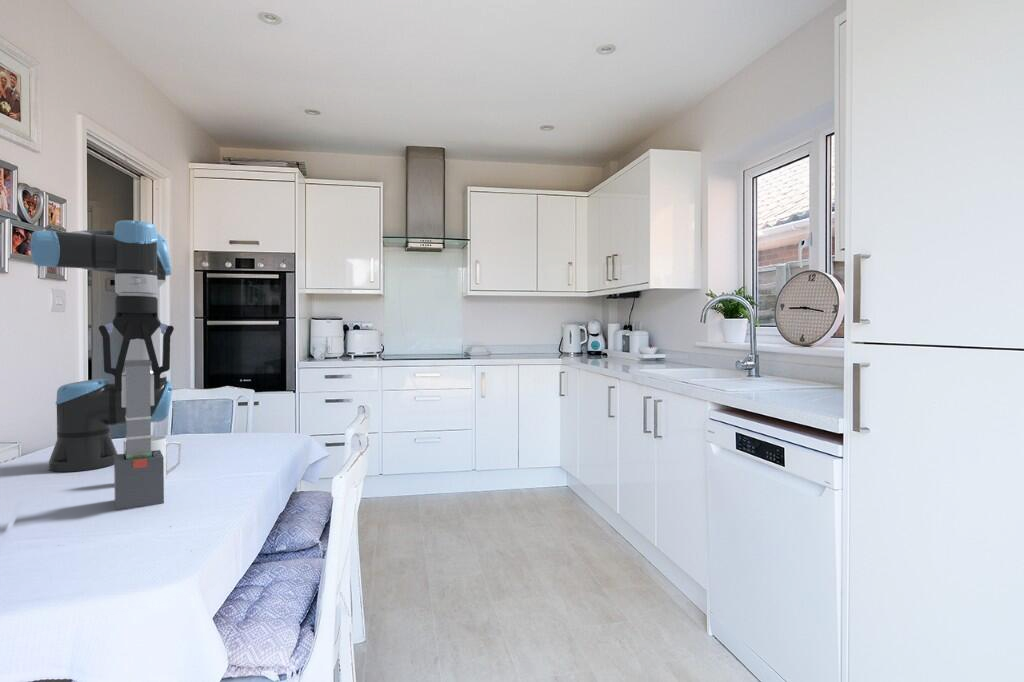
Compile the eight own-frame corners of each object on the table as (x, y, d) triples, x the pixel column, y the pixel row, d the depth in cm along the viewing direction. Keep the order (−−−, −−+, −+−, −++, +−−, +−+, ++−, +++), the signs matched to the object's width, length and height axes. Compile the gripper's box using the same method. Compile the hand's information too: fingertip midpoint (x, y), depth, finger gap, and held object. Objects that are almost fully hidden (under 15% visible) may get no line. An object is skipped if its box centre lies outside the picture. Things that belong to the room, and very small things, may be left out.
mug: (121, 490, 134) (121, 443, 134) (126, 481, 142) (126, 436, 142) (180, 484, 140) (180, 439, 140) (182, 476, 148) (182, 433, 148)
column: (124, 463, 123) (123, 360, 122) (151, 460, 126) (149, 359, 125) (125, 467, 119) (124, 361, 118) (152, 464, 122) (151, 360, 121)
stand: (92, 506, 123) (92, 454, 123) (178, 494, 132) (178, 445, 132) (92, 522, 113) (91, 465, 113) (185, 507, 123) (185, 455, 122)
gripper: (85, 293, 113) (87, 411, 114) (185, 296, 123) (186, 404, 124) (86, 294, 119) (87, 406, 120) (181, 297, 129) (182, 400, 130)
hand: (137, 405), depth 122 cm, fingers closed on column, 4 cm apart
